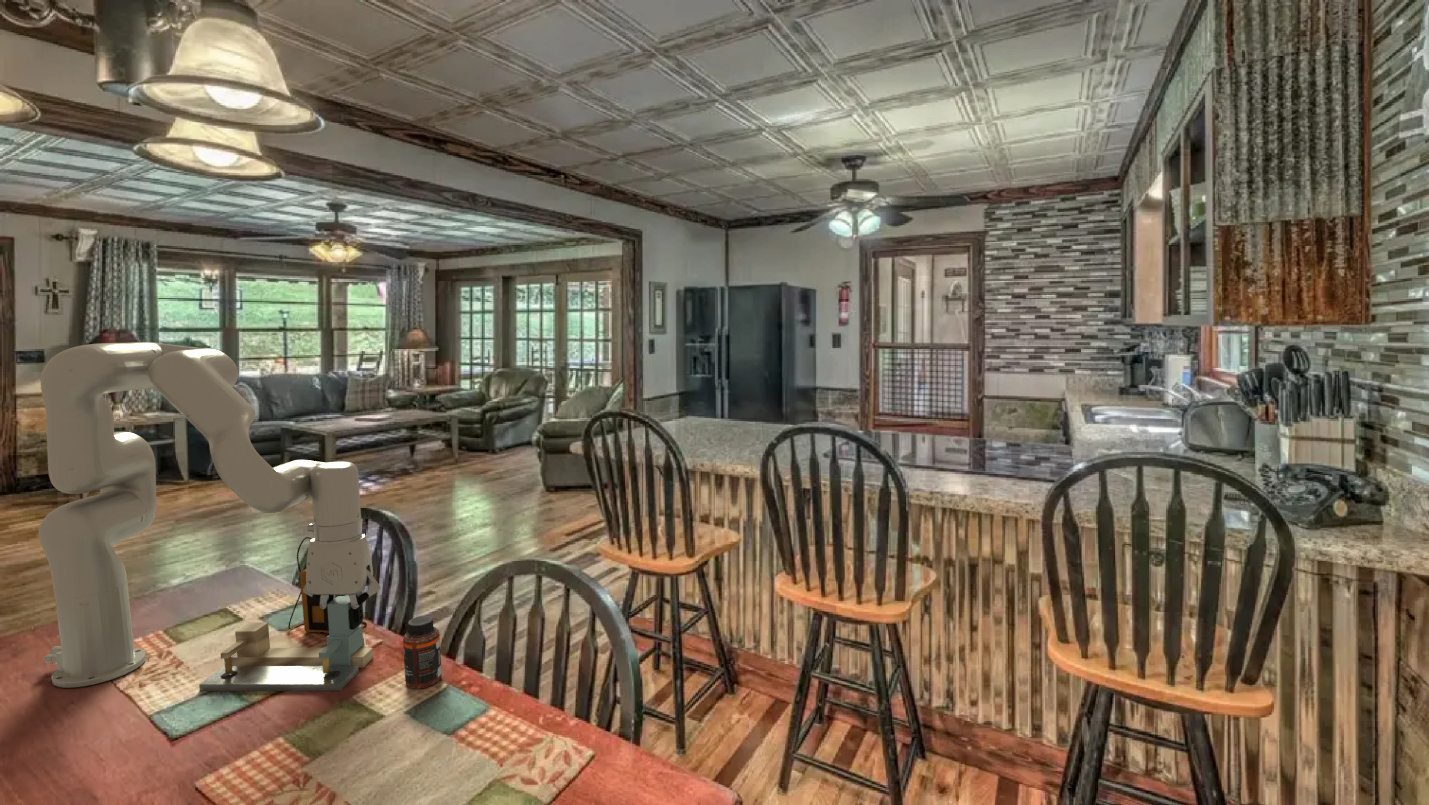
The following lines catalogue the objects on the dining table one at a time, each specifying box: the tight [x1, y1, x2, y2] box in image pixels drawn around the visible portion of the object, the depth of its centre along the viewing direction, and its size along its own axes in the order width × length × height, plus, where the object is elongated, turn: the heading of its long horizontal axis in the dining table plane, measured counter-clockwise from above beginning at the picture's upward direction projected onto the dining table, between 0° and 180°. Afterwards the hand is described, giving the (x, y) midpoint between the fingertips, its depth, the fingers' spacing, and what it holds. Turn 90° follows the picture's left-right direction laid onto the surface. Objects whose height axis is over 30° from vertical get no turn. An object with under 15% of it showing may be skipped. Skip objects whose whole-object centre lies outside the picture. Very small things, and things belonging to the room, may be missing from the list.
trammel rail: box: [220, 622, 374, 674], centre depth 120 cm, size 24×9×7 cm, turn 91°
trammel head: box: [319, 595, 366, 674], centre depth 120 cm, size 4×10×12 cm, turn 1°
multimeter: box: [287, 536, 368, 634], centre depth 138 cm, size 15×10×20 cm
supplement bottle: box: [402, 615, 443, 689], centre depth 116 cm, size 6×6×11 cm
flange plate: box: [198, 665, 360, 692], centre depth 117 cm, size 24×6×1 cm, turn 91°
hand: (344, 625), depth 122 cm, fingers closed on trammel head, 3 cm apart
